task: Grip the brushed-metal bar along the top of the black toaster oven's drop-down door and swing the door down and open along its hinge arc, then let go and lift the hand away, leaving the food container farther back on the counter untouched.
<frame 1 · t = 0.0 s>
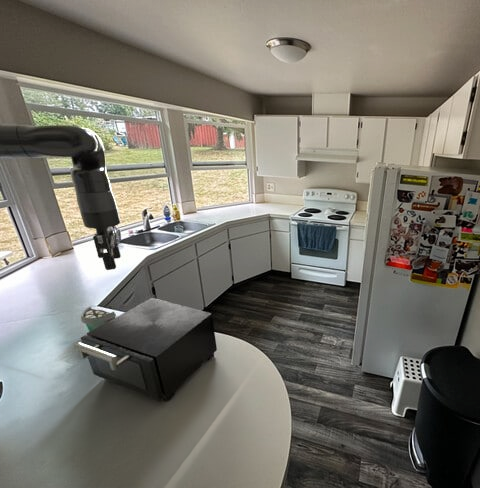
hand: (113, 263, 72), 35 cm above the table, tool pointing down, fingers open, 8 cm apart
oven door: (111, 369, 66), point 11 cm above the table, hinge at 0.0°
food container: (100, 336, 94), on the table
oven: (163, 365, 82), on the table
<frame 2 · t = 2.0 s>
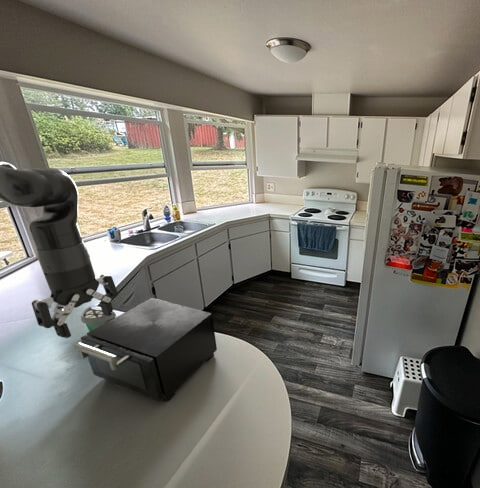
hand: (88, 325, 60), 27 cm above the table, tool pointing down, fingers open, 8 cm apart
nothing on the table moved.
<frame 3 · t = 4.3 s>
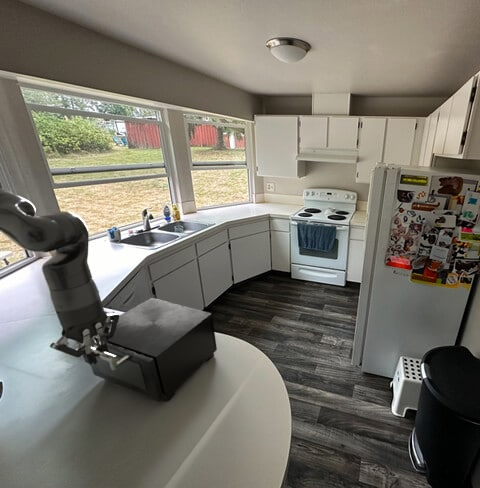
hand: (98, 359, 63), 17 cm above the table, tool pointing down, fingers closed on oven door
oven door: (111, 369, 66), point 11 cm above the table, hinge at 0.0°, touching gripper
everything else where it was.
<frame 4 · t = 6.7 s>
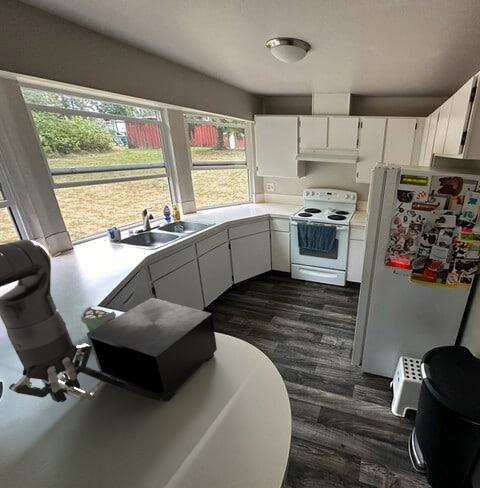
hand: (68, 395, 58), 13 cm above the table, tool pointing down, fingers closed on oven door
oven door: (97, 386, 63), point 10 cm above the table, hinge at 29.3°, touching gripper
everything else where it was.
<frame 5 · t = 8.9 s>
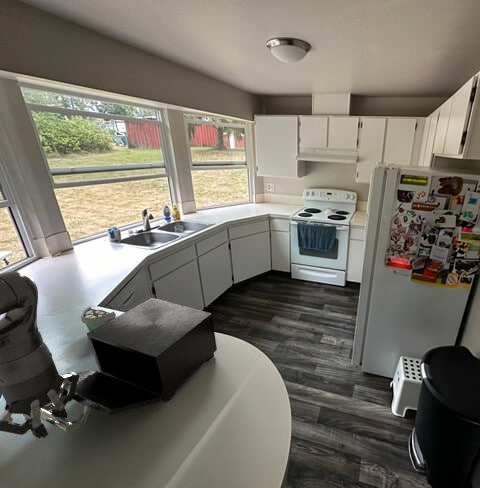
hand: (52, 428, 56), 7 cm above the table, tool pointing down, fingers closed
oven door: (91, 400, 62), point 7 cm above the table, hinge at 51.2°, touching gripper
everything else where it was.
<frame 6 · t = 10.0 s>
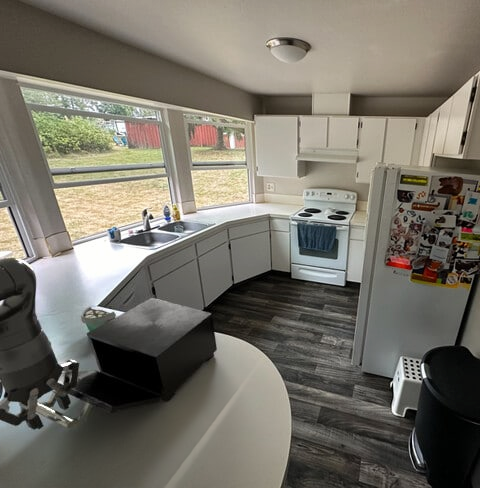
hand: (52, 416, 55), 10 cm above the table, tool pointing down, fingers open, 4 cm apart
oven door: (91, 398, 62), point 7 cm above the table, hinge at 48.8°
everything else where it was.
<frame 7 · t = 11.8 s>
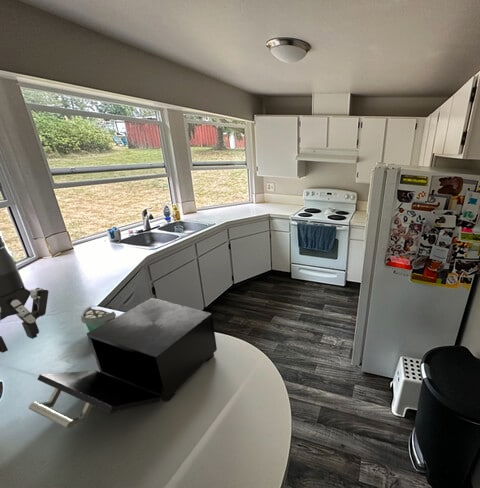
hand: (18, 343, 53), 27 cm above the table, tool pointing down, fingers open, 4 cm apart
nothing on the table moved.
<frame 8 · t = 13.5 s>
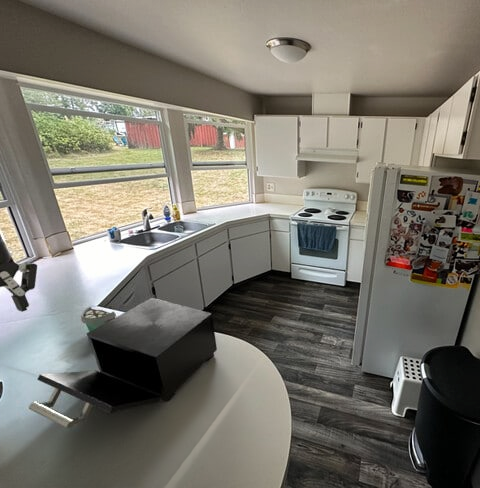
hand: (8, 315, 54), 32 cm above the table, tool pointing down, fingers open, 4 cm apart
nothing on the table moved.
at the end: oven door at +49° (first picture: +0°); food container moved 0.2 cm from its start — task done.
